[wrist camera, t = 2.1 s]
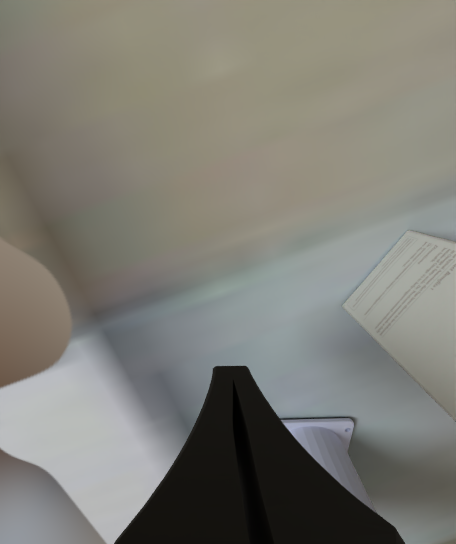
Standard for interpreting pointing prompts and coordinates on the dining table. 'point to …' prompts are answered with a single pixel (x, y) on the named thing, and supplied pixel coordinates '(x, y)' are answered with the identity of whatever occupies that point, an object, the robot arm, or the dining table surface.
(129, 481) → the dining table surface
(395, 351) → the supplement box
